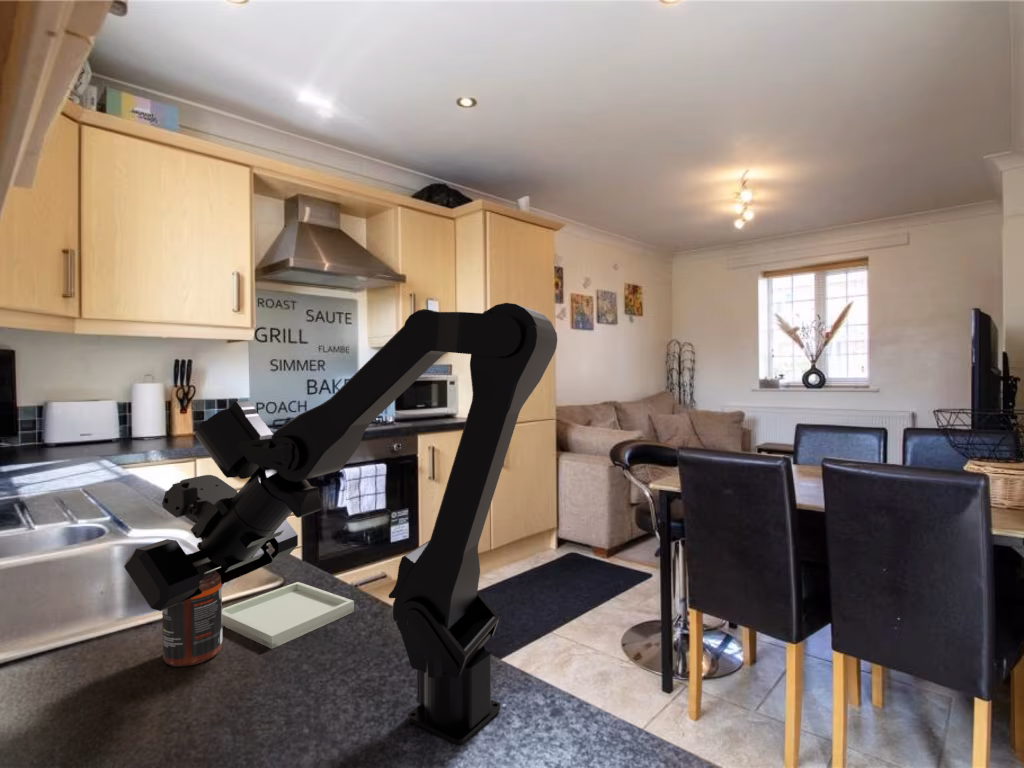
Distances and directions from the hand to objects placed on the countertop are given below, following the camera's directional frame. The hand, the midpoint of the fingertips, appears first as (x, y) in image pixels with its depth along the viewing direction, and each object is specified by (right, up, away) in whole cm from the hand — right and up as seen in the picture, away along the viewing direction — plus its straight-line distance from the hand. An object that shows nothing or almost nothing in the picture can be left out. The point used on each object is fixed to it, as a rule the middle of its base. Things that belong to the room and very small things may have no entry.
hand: (183, 596), depth 64 cm
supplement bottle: (+1, -7, 0) cm, 7 cm away
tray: (+8, -6, +10) cm, 14 cm away
